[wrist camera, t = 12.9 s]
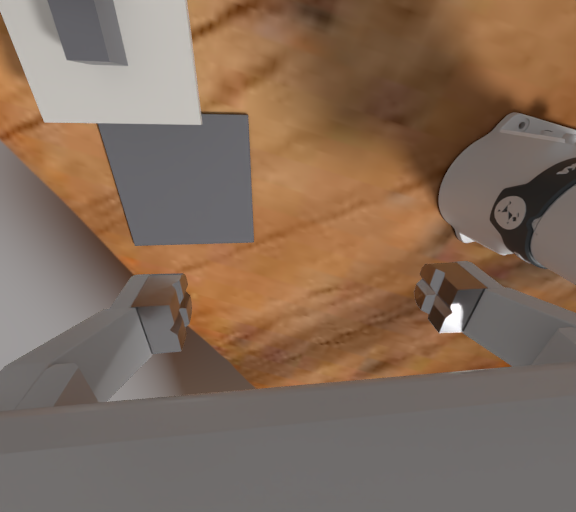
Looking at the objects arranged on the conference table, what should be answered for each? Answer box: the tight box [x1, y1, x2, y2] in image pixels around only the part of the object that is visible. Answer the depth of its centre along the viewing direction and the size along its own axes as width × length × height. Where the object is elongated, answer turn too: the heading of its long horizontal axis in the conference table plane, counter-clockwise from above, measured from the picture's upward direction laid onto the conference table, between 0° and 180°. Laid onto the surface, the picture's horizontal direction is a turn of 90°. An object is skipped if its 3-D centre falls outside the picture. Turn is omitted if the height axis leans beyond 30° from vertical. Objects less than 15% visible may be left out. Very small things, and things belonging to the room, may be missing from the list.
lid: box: [0, 0, 202, 125], centre depth 21 cm, size 14×14×4 cm
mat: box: [98, 114, 254, 246], centre depth 35 cm, size 17×17×1 cm
